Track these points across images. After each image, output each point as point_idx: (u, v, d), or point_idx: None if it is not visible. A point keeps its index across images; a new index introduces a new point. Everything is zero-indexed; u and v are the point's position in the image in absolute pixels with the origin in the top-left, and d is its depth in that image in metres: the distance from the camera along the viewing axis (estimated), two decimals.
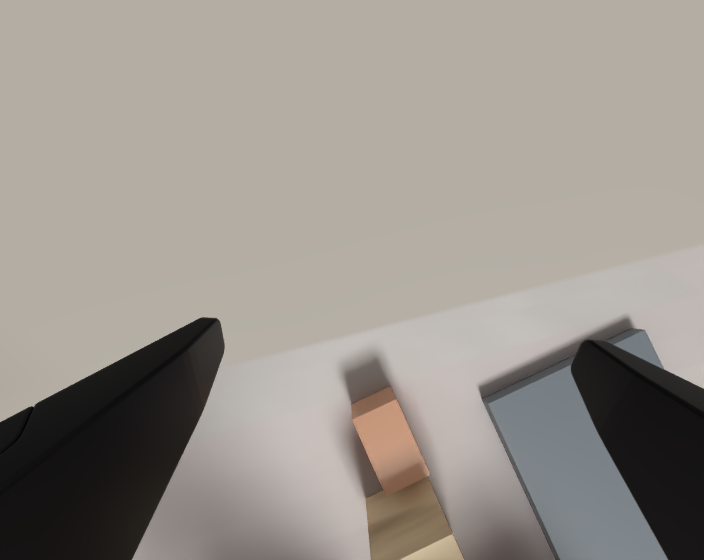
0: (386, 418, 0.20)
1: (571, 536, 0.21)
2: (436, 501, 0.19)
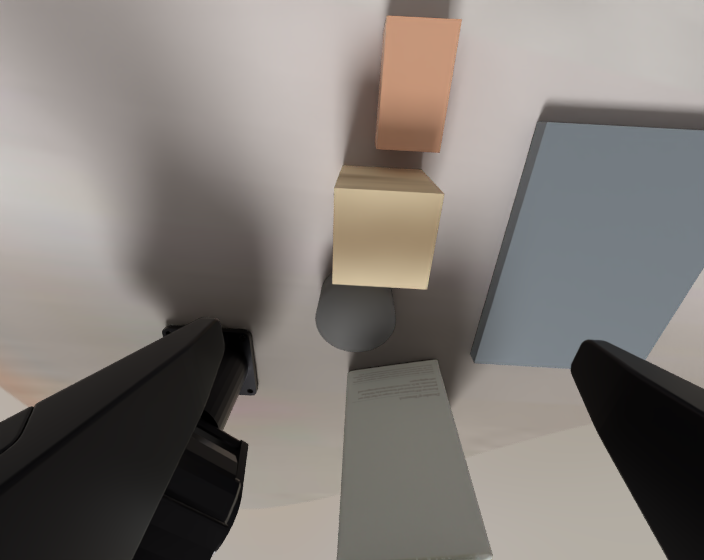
0: (432, 42, 0.13)
1: (515, 295, 0.21)
2: (430, 181, 0.15)
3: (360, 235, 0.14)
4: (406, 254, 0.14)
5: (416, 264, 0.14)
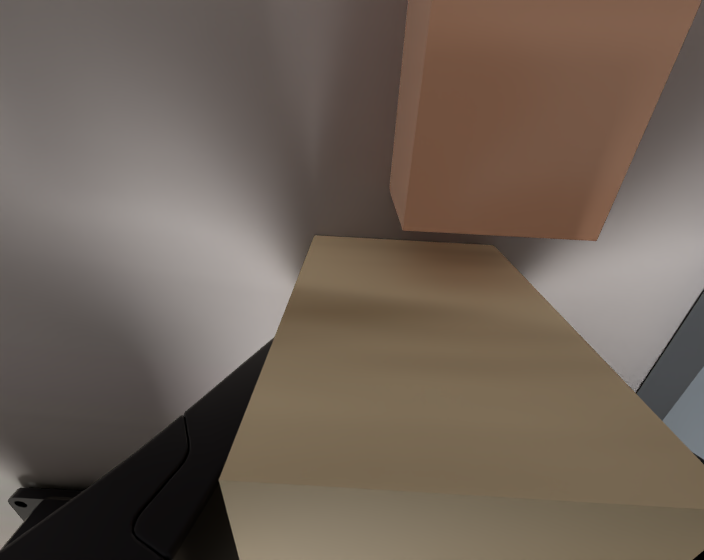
0: None
1: None
2: (564, 324, 0.05)
3: None
4: None
5: None
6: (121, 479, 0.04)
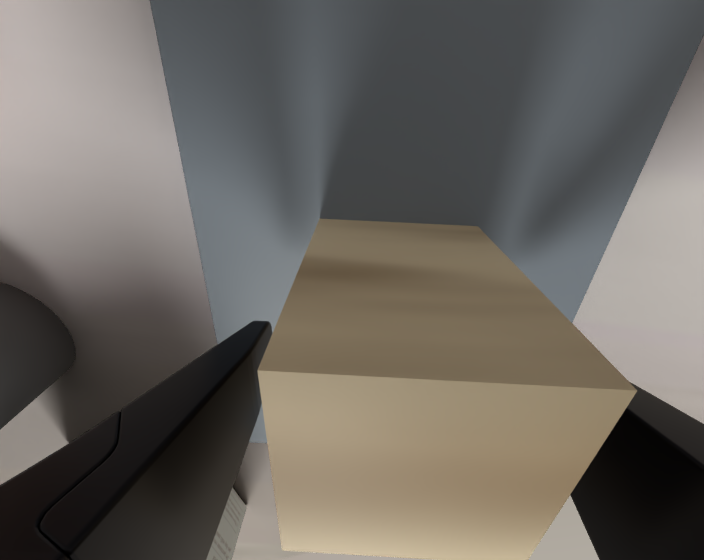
0: None
1: None
2: (527, 282, 0.06)
3: (352, 474, 0.05)
4: (481, 511, 0.05)
5: (508, 527, 0.05)
6: (40, 474, 0.04)
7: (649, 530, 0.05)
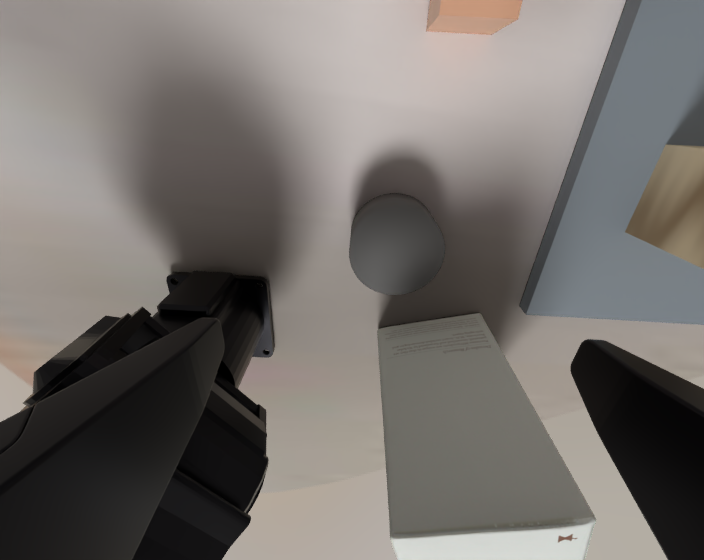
0: None
1: (583, 227, 0.18)
2: None
3: None
4: None
5: None
6: None
7: None
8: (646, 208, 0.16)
